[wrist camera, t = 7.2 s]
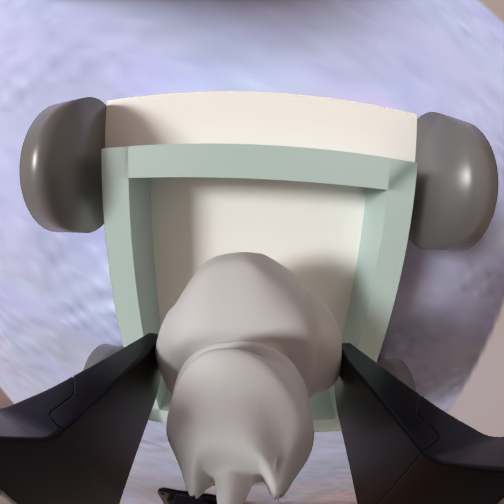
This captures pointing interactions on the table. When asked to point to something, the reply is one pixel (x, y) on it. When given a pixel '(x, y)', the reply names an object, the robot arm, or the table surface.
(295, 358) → the white figurine
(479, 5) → the table surface
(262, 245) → the toy chassis
